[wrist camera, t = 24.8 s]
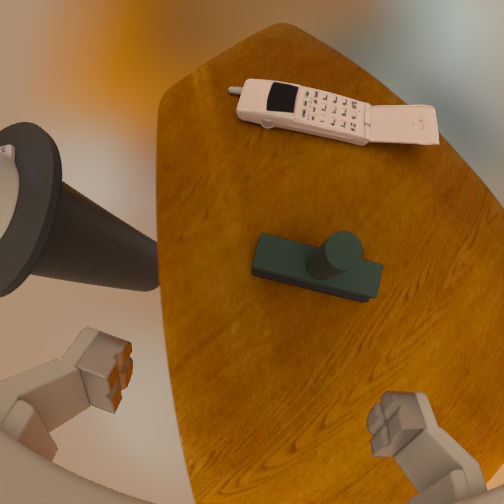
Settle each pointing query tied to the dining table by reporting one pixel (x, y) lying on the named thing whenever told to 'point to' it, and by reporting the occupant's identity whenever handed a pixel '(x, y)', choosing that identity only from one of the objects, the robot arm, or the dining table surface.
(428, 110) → the mobile phone
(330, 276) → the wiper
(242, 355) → the dining table surface
